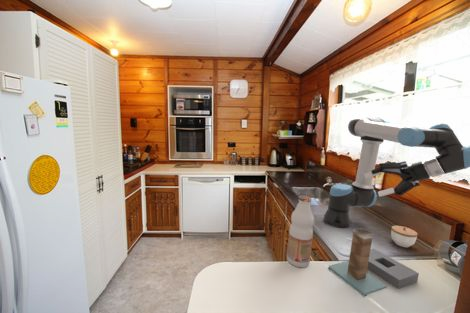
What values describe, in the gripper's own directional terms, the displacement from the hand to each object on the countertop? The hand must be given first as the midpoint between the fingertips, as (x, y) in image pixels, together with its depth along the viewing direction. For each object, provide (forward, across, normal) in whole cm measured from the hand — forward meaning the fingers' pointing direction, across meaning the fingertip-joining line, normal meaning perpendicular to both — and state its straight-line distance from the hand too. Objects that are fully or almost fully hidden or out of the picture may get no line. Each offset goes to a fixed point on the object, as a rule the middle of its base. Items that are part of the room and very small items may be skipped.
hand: (371, 185), depth 106 cm
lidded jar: (+4, +39, -7) cm, 40 cm away
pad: (+14, +4, -40) cm, 42 cm away
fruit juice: (+32, -8, -38) cm, 50 cm away
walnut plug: (+13, +3, -39) cm, 41 cm away
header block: (+7, +15, -32) cm, 36 cm away
